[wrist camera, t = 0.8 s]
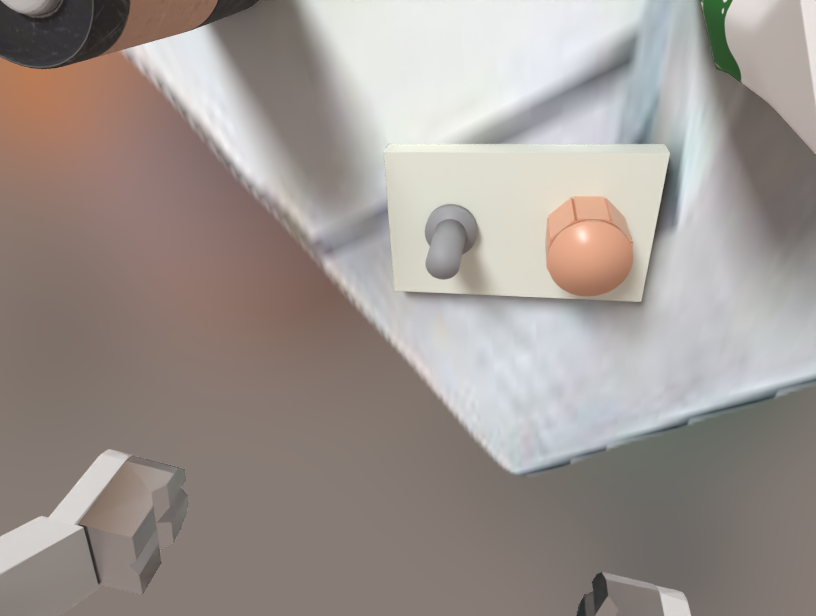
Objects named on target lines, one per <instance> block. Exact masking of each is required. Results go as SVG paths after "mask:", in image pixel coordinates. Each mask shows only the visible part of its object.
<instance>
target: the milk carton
mask: <svg viewBox="0 0 816 616" xmlns="http://www.w3.org/2000/svg"><path fill="white" fill-rule="evenodd" d="M700 1H701V6H702V10H703V15H704V19H705V24H706V28H707V33H708V37H709V42H710V46H711V51H712V55H713V59H714V63H715V66H716V69H718V70H721V71H724V72H727V73H729V74H730V75H732V76H733V77H734V78H736V79H737V80H738V81H740V82H741V83H742V84H744V85H745V86H746V87H748V88H749V89H750V90H752V91H753V92H755V93H756V94H757V95H759V96H760V97H761V98H763V99H764V100H765V101H767V102H768V103H769V104H770V105H771V106H772V107H773V108H774V109H775V110H776V111H777V112H778V113H779V114H780V116H781V117H782V118H783V119H784V120H785V121H786V122H787V123H788V124H789V126H790V127H791V128H792V129H793V130H794V131H795V132H796V133H797V134H798V136H799V137H800V138H801V139H802V140H803V141H804V142H805V143H806V144H807V146H808V147H809V148H810V149H811V150H812V151H813V152H814V153H815V155H816V0H700Z"/></svg>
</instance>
